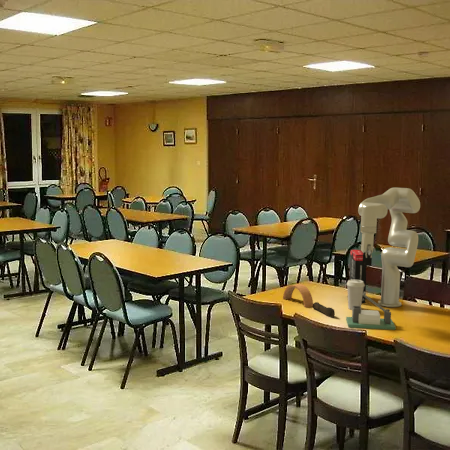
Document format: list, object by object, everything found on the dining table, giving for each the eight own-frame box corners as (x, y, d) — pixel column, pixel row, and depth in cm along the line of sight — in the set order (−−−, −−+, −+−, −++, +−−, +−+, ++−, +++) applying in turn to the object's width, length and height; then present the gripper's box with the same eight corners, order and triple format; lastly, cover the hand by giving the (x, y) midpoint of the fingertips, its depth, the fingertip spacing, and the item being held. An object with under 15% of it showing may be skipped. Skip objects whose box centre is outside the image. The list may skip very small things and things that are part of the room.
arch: (291, 298, 346) (291, 280, 345) (313, 306, 329) (313, 288, 327) (282, 299, 343) (283, 281, 342) (304, 307, 326) (305, 289, 325)
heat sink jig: (346, 319, 304) (346, 303, 303) (391, 321, 301) (392, 305, 300) (348, 327, 291) (349, 310, 290) (395, 329, 289) (396, 312, 288)
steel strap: (361, 294, 296) (364, 291, 296) (387, 313, 296) (390, 310, 296) (362, 295, 294) (364, 292, 293) (388, 315, 293) (391, 311, 293)
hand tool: (312, 309, 323) (312, 301, 322) (318, 308, 324) (319, 300, 324) (329, 319, 305) (329, 310, 305) (336, 318, 307) (336, 309, 306)
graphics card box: (366, 303, 336) (368, 255, 332) (353, 303, 336) (355, 254, 332) (359, 295, 353) (361, 249, 349) (347, 295, 353) (349, 249, 349)
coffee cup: (363, 311, 319) (365, 283, 317) (345, 310, 321) (346, 282, 319) (363, 306, 329) (364, 279, 327) (345, 305, 331) (346, 278, 329)
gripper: (358, 226, 310) (357, 260, 312) (362, 231, 292) (361, 267, 295) (373, 227, 309) (372, 260, 311) (378, 232, 292) (376, 267, 294)
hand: (366, 263), depth 303 cm, fingers open, 9 cm apart
